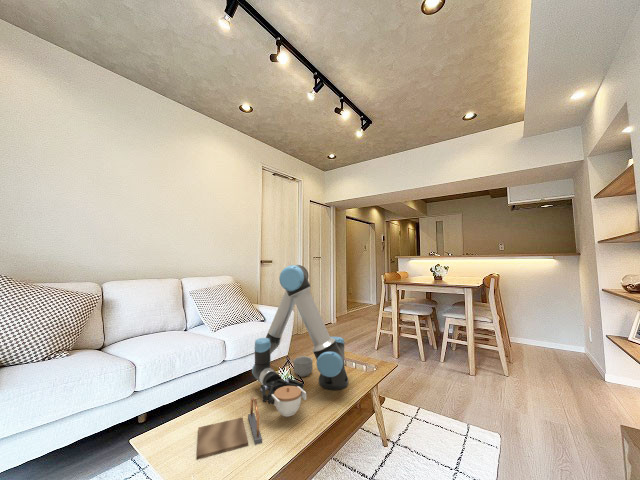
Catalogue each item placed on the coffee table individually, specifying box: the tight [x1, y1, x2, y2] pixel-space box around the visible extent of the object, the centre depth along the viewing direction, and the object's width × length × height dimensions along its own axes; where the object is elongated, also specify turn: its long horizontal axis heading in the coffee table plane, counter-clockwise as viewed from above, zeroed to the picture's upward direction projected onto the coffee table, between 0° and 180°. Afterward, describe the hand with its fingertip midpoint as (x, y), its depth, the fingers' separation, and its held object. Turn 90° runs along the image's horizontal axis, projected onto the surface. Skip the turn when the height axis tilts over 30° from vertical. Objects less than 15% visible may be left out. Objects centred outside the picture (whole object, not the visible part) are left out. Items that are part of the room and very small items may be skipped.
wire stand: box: [247, 412, 263, 446], centre depth 100 cm, size 2×17×1 cm, turn 23°
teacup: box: [292, 355, 313, 377], centre depth 150 cm, size 14×11×8 cm
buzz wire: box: [249, 396, 260, 437], centre depth 100 cm, size 1×15×10 cm, turn 23°
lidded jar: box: [274, 386, 302, 417], centre depth 106 cm, size 11×11×9 cm
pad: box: [196, 416, 249, 460], centre depth 95 cm, size 16×16×1 cm
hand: (292, 400), depth 102 cm, fingers closed on lidded jar, 11 cm apart
